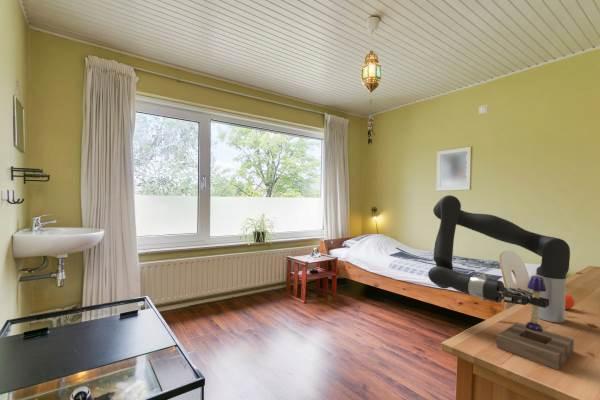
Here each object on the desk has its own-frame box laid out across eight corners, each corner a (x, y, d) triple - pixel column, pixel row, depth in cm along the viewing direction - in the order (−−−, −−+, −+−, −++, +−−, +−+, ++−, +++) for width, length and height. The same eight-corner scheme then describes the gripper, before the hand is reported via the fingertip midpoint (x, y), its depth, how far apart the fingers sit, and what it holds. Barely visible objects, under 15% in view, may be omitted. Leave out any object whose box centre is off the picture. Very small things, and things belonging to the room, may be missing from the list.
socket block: (516, 333, 105) (517, 322, 105) (573, 351, 93) (573, 339, 93) (496, 347, 94) (497, 334, 94) (557, 369, 82) (558, 355, 82)
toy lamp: (546, 333, 90) (550, 279, 91) (529, 330, 91) (533, 277, 92) (537, 327, 95) (540, 275, 95) (521, 325, 96) (524, 273, 96)
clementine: (553, 304, 139) (553, 289, 139) (573, 307, 134) (573, 292, 134) (553, 308, 133) (554, 292, 133) (574, 312, 128) (575, 296, 128)
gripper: (478, 280, 101) (541, 295, 87) (494, 275, 109) (554, 288, 95) (476, 302, 101) (540, 320, 87) (493, 295, 109) (553, 311, 95)
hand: (547, 303), depth 91 cm, fingers closed on toy lamp
